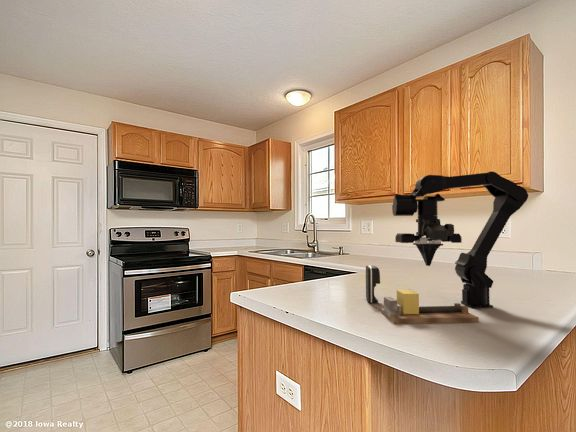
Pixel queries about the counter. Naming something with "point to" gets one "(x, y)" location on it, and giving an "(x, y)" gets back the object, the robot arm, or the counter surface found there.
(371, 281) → the black silver-edged device
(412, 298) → the pale yellow cube
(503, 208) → the robot arm
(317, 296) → the counter surface
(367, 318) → the counter surface
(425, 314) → the sliding clamp fixture
